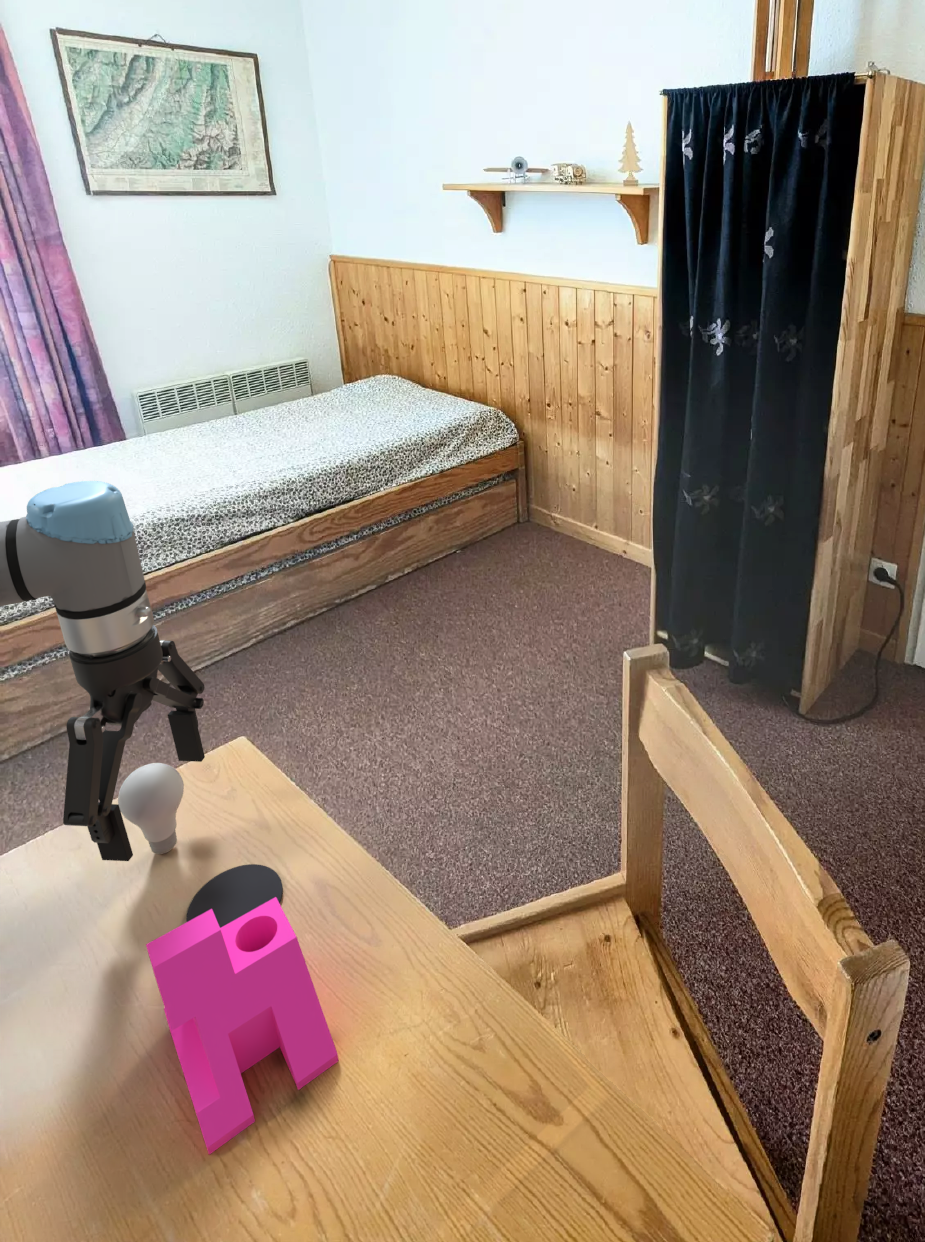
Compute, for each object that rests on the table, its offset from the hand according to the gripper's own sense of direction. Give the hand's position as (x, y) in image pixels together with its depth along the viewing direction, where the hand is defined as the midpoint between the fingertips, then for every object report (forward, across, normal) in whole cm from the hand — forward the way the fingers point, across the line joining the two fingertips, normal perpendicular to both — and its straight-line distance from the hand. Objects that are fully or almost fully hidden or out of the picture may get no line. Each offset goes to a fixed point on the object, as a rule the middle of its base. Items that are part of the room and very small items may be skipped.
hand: (157, 804), depth 83 cm
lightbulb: (+7, 0, 0) cm, 7 cm away
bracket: (+7, -19, -19) cm, 28 cm away
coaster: (+6, -6, -11) cm, 14 cm away
